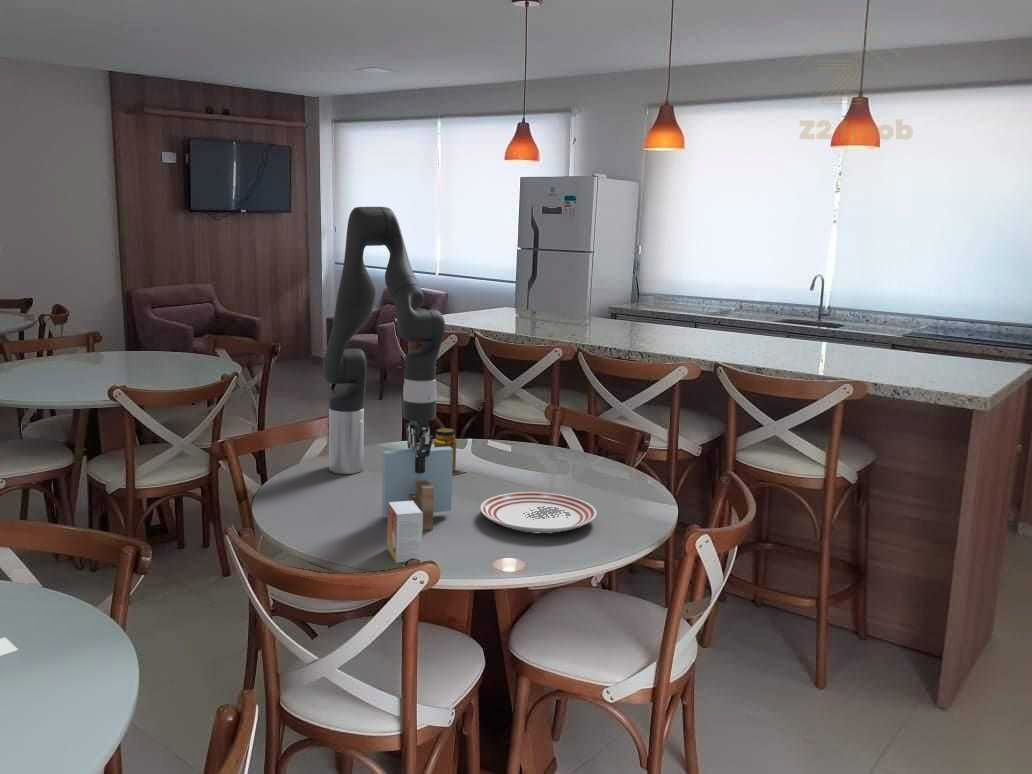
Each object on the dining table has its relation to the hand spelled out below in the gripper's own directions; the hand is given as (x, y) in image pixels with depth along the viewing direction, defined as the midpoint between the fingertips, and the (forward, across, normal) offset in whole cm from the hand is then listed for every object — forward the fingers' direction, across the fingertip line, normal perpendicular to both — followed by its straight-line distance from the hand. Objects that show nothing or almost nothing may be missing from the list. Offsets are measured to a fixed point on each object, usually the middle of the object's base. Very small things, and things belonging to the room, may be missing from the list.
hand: (417, 470), depth 203 cm
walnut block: (+12, 0, 0) cm, 12 cm away
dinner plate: (+12, -9, -27) cm, 31 cm away
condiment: (+12, +33, -19) cm, 40 cm away
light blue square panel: (+10, 0, 0) cm, 10 cm away
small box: (+12, -20, +9) cm, 25 cm away
